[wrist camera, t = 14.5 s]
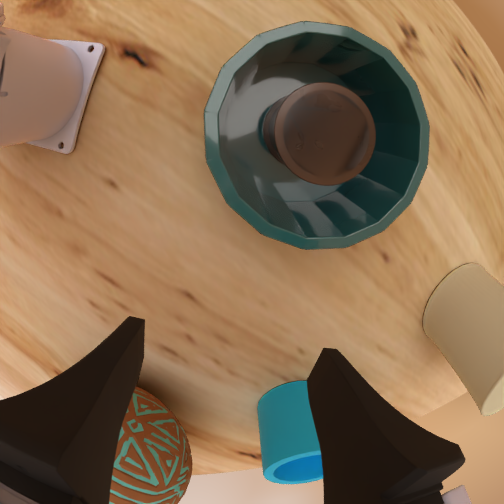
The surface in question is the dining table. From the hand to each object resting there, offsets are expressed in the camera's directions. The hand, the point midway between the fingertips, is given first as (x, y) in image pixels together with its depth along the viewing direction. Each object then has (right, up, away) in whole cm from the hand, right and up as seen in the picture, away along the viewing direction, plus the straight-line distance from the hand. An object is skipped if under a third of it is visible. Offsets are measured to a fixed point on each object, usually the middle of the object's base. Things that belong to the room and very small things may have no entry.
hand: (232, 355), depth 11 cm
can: (+22, -1, +13) cm, 25 cm away
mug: (+7, -11, +17) cm, 21 cm away
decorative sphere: (-12, -11, +16) cm, 23 cm away
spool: (+4, +11, +6) cm, 13 cm away
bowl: (+4, +12, +6) cm, 14 cm away
